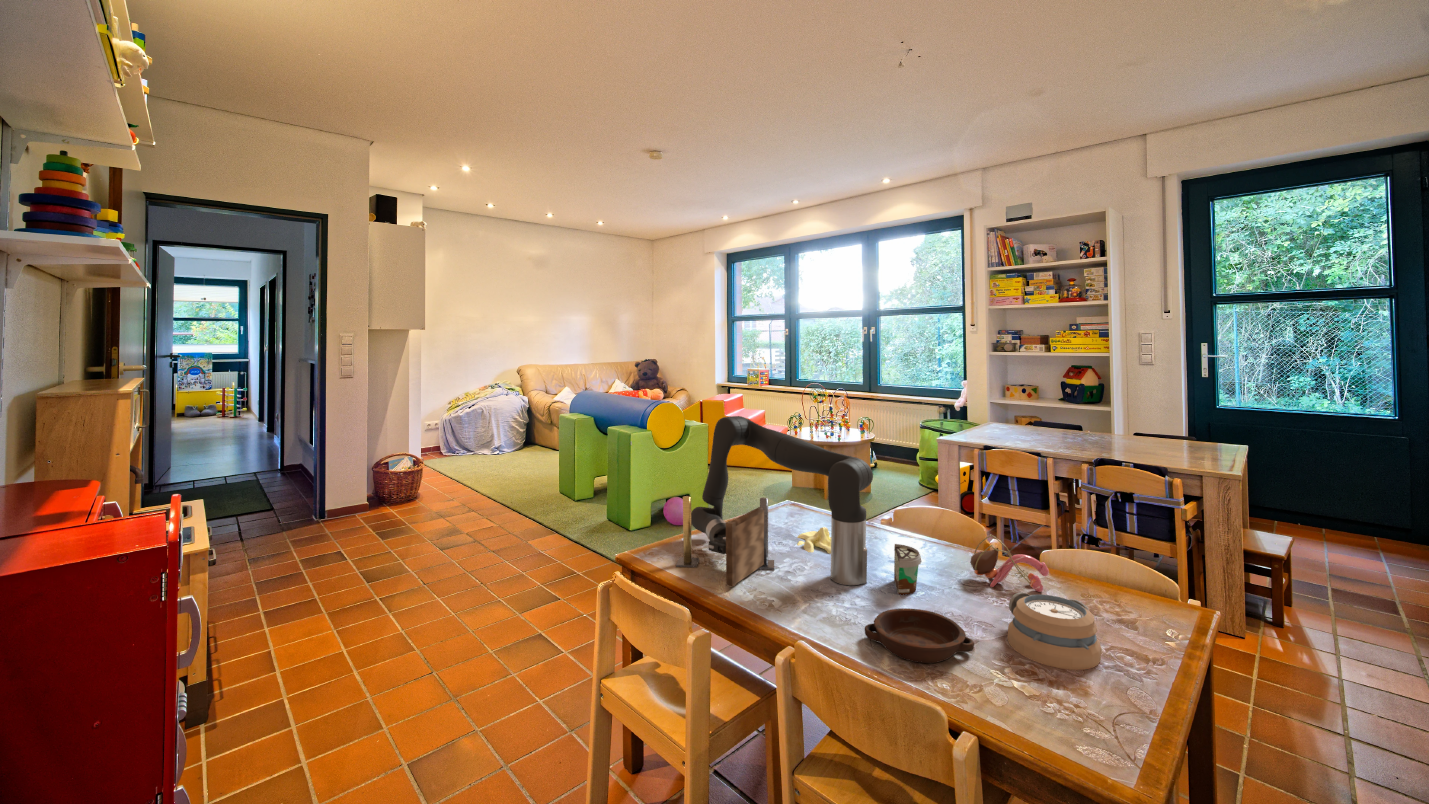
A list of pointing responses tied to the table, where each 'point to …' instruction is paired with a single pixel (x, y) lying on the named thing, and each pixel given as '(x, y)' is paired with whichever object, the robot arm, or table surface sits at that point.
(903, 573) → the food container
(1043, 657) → the alarm clock
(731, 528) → the gate panel
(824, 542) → the cloth
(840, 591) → the table surface
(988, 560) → the anatomy model
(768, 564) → the gate frame
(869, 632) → the dish
